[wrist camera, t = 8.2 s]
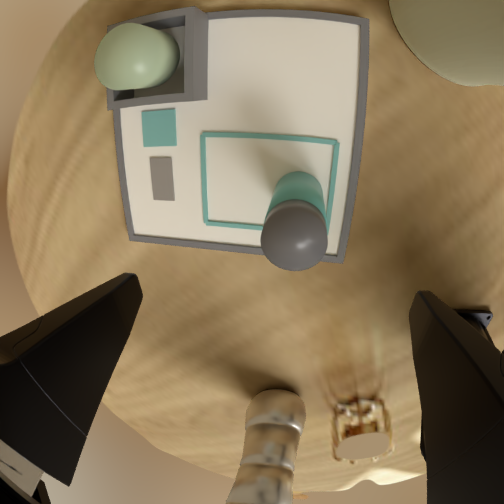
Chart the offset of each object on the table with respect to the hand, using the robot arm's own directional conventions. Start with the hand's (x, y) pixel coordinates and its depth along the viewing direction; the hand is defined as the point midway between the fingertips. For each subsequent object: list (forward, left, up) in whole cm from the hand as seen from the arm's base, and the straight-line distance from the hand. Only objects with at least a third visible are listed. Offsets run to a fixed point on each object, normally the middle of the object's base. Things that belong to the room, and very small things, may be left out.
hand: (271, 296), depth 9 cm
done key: (+8, -8, -9) cm, 14 cm away
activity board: (+4, -3, -11) cm, 12 cm away
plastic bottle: (-1, +24, -11) cm, 26 cm away
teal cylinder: (-1, +1, -11) cm, 11 cm away
